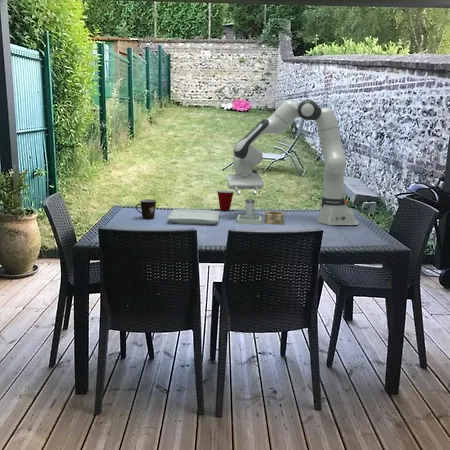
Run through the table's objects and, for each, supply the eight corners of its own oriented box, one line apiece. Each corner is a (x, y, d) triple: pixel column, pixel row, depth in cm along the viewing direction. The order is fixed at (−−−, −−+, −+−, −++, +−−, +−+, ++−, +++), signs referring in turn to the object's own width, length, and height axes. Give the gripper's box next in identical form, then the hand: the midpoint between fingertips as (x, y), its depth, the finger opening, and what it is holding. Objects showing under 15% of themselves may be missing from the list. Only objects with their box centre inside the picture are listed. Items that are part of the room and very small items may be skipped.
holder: (282, 222, 283) (283, 211, 282) (283, 226, 274) (283, 215, 272) (264, 221, 284) (265, 210, 283) (264, 225, 275) (265, 214, 273)
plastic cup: (234, 208, 317) (235, 189, 315) (232, 212, 307) (233, 192, 304) (217, 207, 318) (217, 188, 316) (215, 211, 308) (215, 191, 305)
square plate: (217, 227, 269) (218, 219, 268) (166, 224, 270) (166, 217, 269) (220, 216, 296) (220, 209, 295) (173, 214, 296) (173, 208, 295)
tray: (261, 221, 284) (261, 215, 284) (260, 226, 272) (261, 220, 271) (238, 220, 285) (238, 214, 285) (236, 225, 273) (236, 219, 272)
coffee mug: (154, 216, 288) (154, 199, 285) (157, 219, 280) (157, 201, 278) (133, 217, 284) (133, 199, 282) (136, 220, 276) (136, 202, 274)
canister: (254, 220, 281) (255, 199, 278) (253, 223, 276) (254, 201, 273) (244, 220, 281) (245, 199, 278) (244, 222, 276) (245, 200, 273)
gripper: (226, 171, 284) (230, 191, 276) (261, 171, 288) (266, 191, 281) (224, 177, 289) (227, 197, 282) (259, 177, 293) (263, 197, 286)
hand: (247, 194), depth 281 cm, fingers open, 8 cm apart
